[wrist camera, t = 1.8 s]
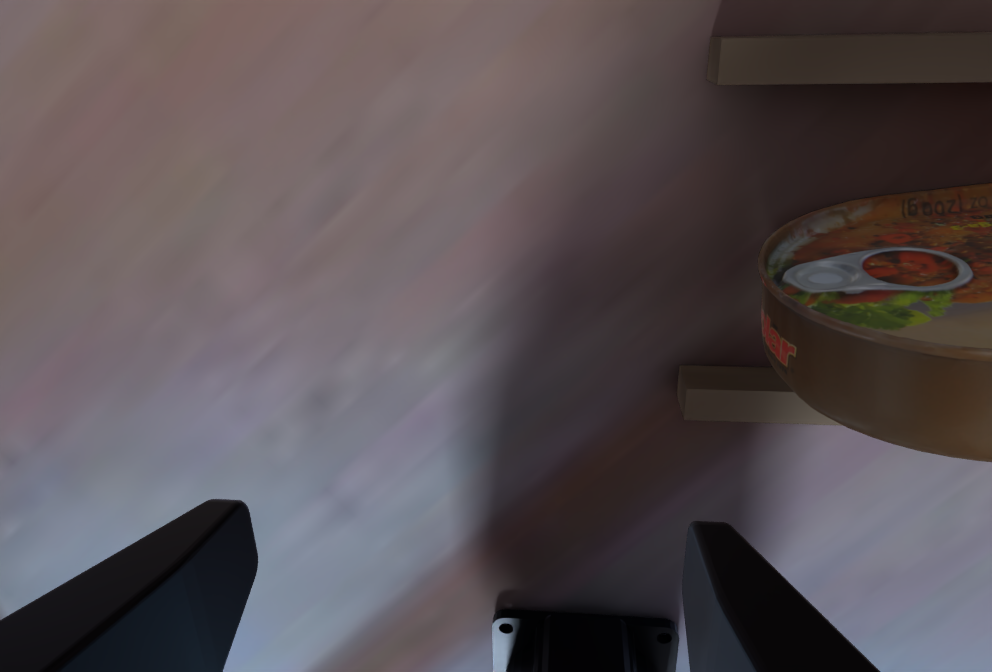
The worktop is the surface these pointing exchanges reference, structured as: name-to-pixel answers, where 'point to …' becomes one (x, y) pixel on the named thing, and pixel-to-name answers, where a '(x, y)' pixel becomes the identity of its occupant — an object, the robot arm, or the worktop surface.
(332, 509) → the worktop surface
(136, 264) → the worktop surface
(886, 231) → the tin
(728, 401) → the dock
